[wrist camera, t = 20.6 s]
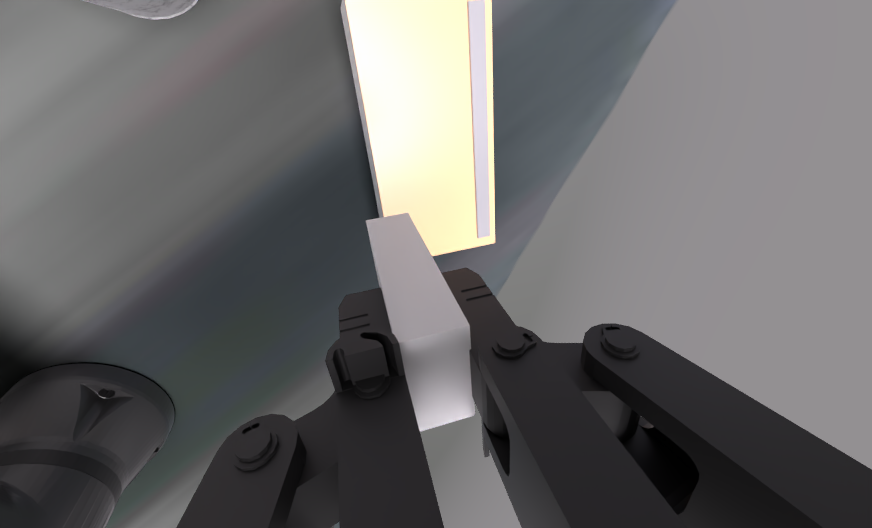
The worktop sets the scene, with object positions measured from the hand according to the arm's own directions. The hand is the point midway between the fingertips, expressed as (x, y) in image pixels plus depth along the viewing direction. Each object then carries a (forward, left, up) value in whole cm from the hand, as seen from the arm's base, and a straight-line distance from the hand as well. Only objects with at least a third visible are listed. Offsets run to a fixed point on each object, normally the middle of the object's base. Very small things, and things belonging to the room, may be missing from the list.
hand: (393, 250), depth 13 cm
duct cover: (+6, 0, -18) cm, 19 cm away
